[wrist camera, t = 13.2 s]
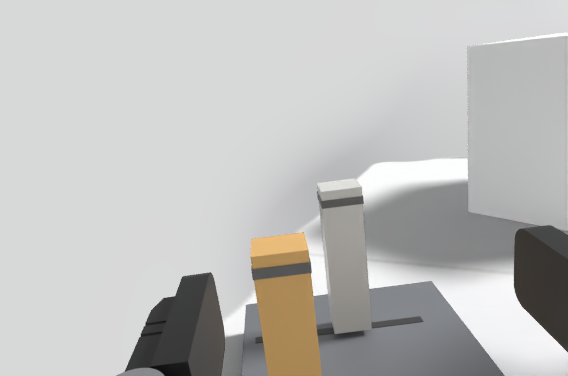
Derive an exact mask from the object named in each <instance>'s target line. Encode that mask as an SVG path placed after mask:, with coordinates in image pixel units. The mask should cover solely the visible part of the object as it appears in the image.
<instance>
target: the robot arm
mask: <svg viewBox="0 0 568 376" xmlns="http://www.w3.org/2000/svg"><path fill="white" fill-rule="evenodd" d="M514 288H515V293H516V296H517V298H518V301H519V302H520V304H521V305H522V307H523V308H524V309H525V310H526V311H527V312H528V313H529V314H530V315H531V316H532V317H533V318H534V319H535V320H536V321H537V322H538V323H539V324H540V325H541V326H542V327H543V328H544V329H545V330H546V331H547V332H548V333H549V334H550V335H551V336H552V337H553V338H554V339H555V340H556V341H557V342H558V343H559V344H560V345H561V346H562V347H563V348H564V349H565V350H566V351H567V352H568V235H566V234H565V233H563V232H562V231H560V230H558V229H557V228H555V227H553V226H551V225H545V226H538V227H531V228H524V229H519V230H518V231H517V233H516V235H515V251H514ZM224 350H225V334H224V326H223V321H222V316H221V311H220V306H219V301H218V296H217V292H216V286H215V282H214V278H213V275H212V273H203V274H196V275H190V276H183V277H182V279H181V282H180V285H179V287H178V290H177V293H176V296H175V297H168V298H164V299H163V300H162V301H160V302H159V303H158V304H157V305H156V306H155V307H154V308H153V309H152V310H151V312H150V314H149V317H148V319H147V322H146V326H145V327H144V329H143V330H142V333H141V337H140V338H139V340H138V342H137V345H136V347H135V349H134V352H133V354H132V356H131V358H130V361H129V363H128V365H127V368H126V370H125V372H123V373H121V374H119V375H117V376H221V373H222V365H223V358H224Z"/></svg>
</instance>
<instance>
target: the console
mask: <svg viewBox="0 0 568 376" xmlns="http://www.w3.org/2000/svg"><path fill="white" fill-rule="evenodd" d="M313 298H314V307H315V317H316V326H317V335H318V344H319V353H320V362H321V371H322V376H504V374H503V373H502V372H501V370H500V369H499V368H498V367H497V365H496V364H495V363H494V361H493V360H492V359H491V358H490V356H489V355H488V354H487V352H486V351H485V350H484V349H483V347H482V346H481V345H480V343H479V342H478V341H477V339H476V338H475V337H474V336H473V334H472V333H471V332H470V330H469V329H468V328H467V327H466V325H465V324H464V323H463V321H462V320H461V319H460V318H459V316H458V315H457V314H456V312H455V311H454V310H453V308H452V307H451V306H450V305H449V303H448V302H447V301H446V299H445V298H444V297H443V296H442V294H441V293H440V292H439V290H438V289H437V288H436V287H435V285H434V284H433V283H432V281H429V282H421V283H413V284H405V285H398V286H390V287H382V288H374V289H369V298H370V312H371V326H372V329H371V330H363V331H355V332H348V333H340V334H335V333H334V329H333V325H332V322H331V318H330V309H329V299H328V294H327V295H319V296H313ZM241 376H268V371H267V364H266V358H265V351H264V344H263V337H262V331H261V324H260V317H259V310H258V304H249V305H246V315H245V330H244V345H243V360H242V375H241Z"/></svg>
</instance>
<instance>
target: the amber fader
mask: <svg viewBox="0 0 568 376" xmlns="http://www.w3.org/2000/svg"><path fill="white" fill-rule="evenodd" d="M251 263H252V277H253V280H254V283H255V290H256V297H257V304H258V310H259V317H260V324H261V331H262V337H263V344H264V351H265V358H266V364H267V371H268V376H322V371H321V362H320V353H319V344H318V335H317V326H316V317H315V307H314V298H313V289H312V280H311V273H312V271H311V262H310V258H309V252H308V247H307V243H306V239H305V235H304V232H303V233H295V234H287V235H279V236H271V237H263V238H255V239H252V243H251Z"/></svg>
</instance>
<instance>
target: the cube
mask: <svg viewBox="0 0 568 376" xmlns="http://www.w3.org/2000/svg"><path fill="white" fill-rule="evenodd" d="M467 59H468V60H467V63H468V64H467V65H468V68H467V71H468V72H467V76H468V212H471V213H477V214H482V215H487V216H492V217H497V218H503V219H508V220H513V221H518V222H523V223H528V224H534V225H539V226H545V225H551V226H553V227H555V228H557V229H560V230H565V231H568V33H561V34H552V35H544V36H536V37H529V38H522V39H515V40H508V41H501V42H494V43H487V44H480V45H473V46H468V47H467Z"/></svg>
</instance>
